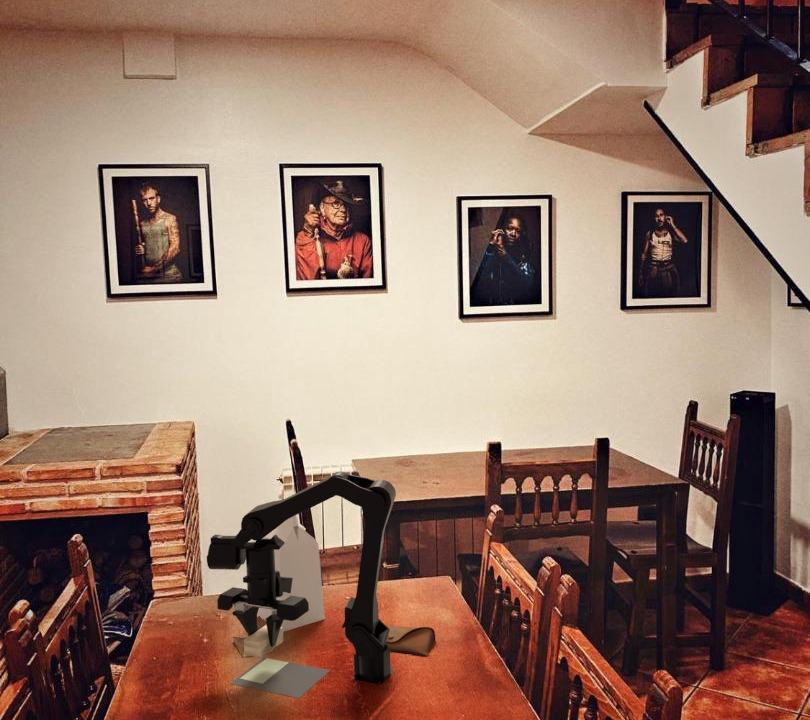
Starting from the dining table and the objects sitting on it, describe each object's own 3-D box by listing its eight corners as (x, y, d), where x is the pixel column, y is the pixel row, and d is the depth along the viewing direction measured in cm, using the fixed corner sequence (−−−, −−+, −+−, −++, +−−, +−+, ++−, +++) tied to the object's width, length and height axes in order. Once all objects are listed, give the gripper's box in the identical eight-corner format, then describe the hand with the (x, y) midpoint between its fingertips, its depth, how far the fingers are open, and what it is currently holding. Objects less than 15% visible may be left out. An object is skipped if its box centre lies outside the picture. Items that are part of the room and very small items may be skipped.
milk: (258, 616, 186) (254, 511, 184) (300, 604, 193) (296, 502, 191) (281, 632, 176) (277, 521, 175) (324, 619, 183) (320, 512, 182)
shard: (233, 643, 172) (232, 635, 172) (266, 636, 175) (266, 629, 175) (242, 662, 162) (241, 654, 162) (277, 655, 165) (277, 647, 165)
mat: (330, 673, 156) (330, 669, 156) (299, 701, 145) (299, 697, 145) (264, 660, 162) (264, 657, 162) (229, 686, 151) (229, 682, 151)
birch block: (261, 657, 151) (260, 642, 151) (244, 654, 153) (243, 639, 153) (283, 641, 159) (282, 627, 158) (267, 638, 160) (266, 624, 160)
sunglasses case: (348, 652, 165) (350, 620, 168) (354, 656, 171) (357, 625, 174) (431, 656, 162) (432, 623, 165) (435, 660, 168) (436, 628, 171)
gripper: (321, 561, 158) (323, 635, 159) (246, 552, 166) (249, 622, 167) (292, 579, 148) (295, 658, 149) (213, 569, 156) (217, 643, 157)
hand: (264, 644), depth 156 cm, fingers closed on birch block, 4 cm apart
